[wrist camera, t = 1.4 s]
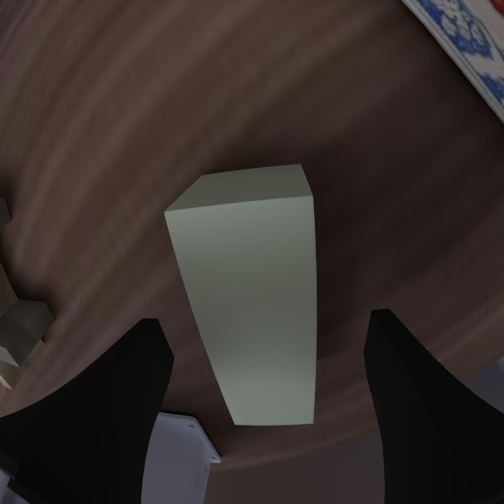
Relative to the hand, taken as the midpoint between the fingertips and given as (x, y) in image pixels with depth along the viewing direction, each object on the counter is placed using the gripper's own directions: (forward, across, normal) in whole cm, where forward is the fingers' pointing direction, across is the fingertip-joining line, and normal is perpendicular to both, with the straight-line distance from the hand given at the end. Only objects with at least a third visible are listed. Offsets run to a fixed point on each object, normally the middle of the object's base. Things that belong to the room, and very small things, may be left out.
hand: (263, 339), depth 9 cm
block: (+3, 0, 0) cm, 3 cm away
